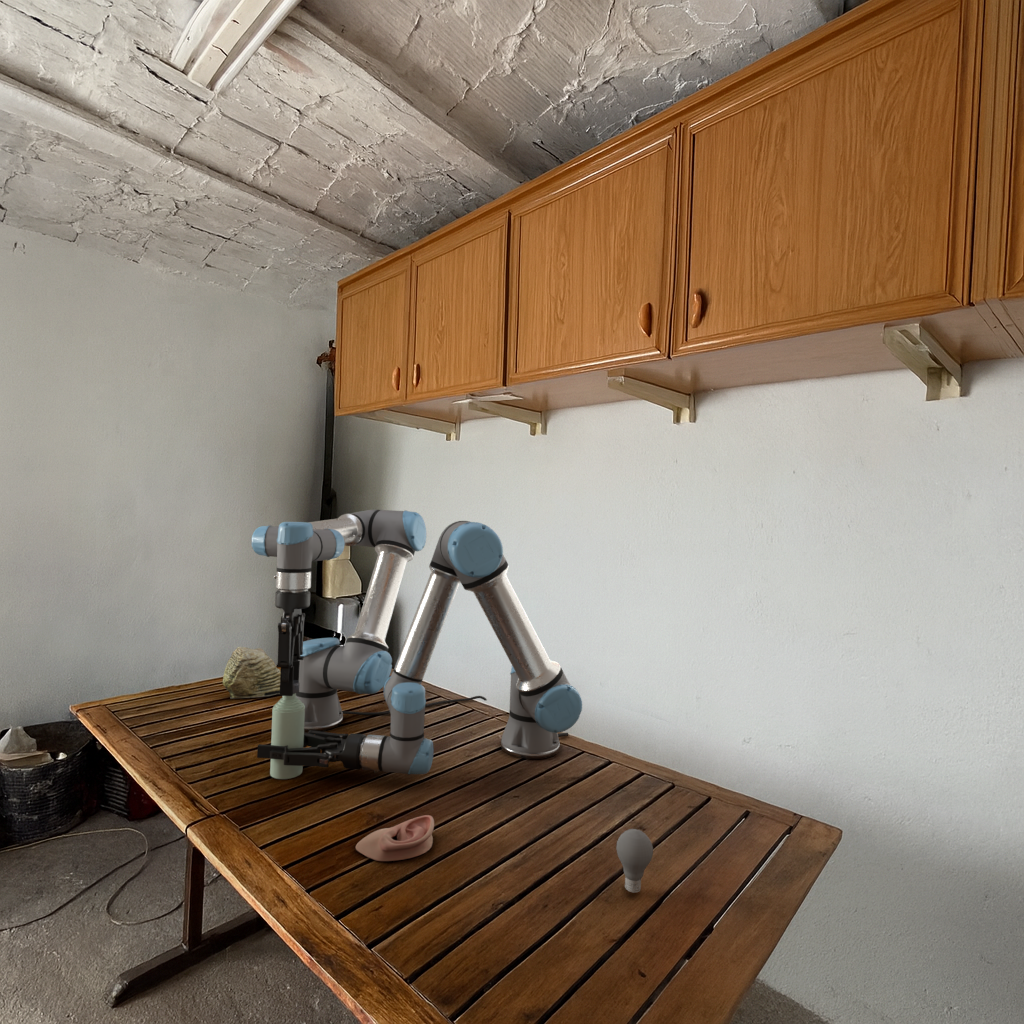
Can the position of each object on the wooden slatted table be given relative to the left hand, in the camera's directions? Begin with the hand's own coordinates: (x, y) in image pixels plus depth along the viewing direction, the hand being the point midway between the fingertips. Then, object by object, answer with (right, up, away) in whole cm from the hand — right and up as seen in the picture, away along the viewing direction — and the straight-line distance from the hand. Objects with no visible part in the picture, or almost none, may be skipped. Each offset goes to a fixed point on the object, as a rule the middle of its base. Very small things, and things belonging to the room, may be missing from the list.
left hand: (289, 691), depth 144 cm
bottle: (-1, -19, 0) cm, 19 cm away
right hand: (-5, -12, +1) cm, 13 cm away
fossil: (-30, -16, +54) cm, 64 cm away
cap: (0, +2, 0) cm, 2 cm away
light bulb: (+71, -22, -39) cm, 84 cm away
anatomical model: (+29, -20, -28) cm, 45 cm away
